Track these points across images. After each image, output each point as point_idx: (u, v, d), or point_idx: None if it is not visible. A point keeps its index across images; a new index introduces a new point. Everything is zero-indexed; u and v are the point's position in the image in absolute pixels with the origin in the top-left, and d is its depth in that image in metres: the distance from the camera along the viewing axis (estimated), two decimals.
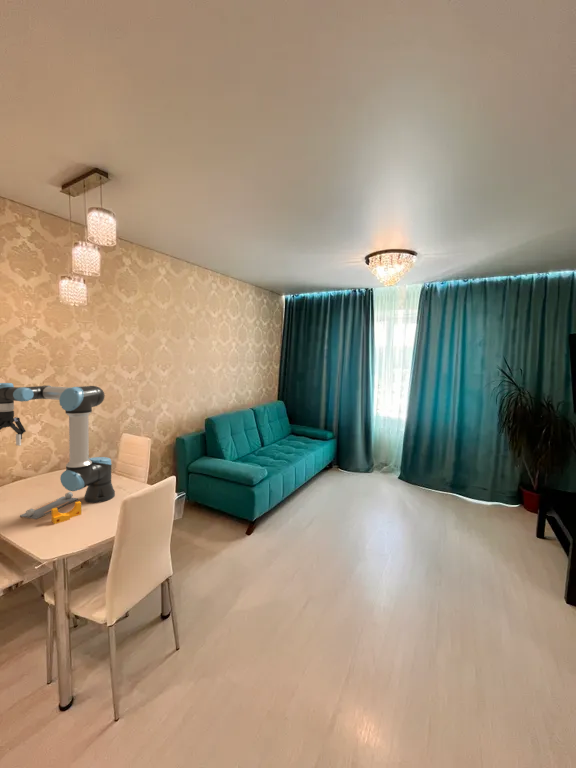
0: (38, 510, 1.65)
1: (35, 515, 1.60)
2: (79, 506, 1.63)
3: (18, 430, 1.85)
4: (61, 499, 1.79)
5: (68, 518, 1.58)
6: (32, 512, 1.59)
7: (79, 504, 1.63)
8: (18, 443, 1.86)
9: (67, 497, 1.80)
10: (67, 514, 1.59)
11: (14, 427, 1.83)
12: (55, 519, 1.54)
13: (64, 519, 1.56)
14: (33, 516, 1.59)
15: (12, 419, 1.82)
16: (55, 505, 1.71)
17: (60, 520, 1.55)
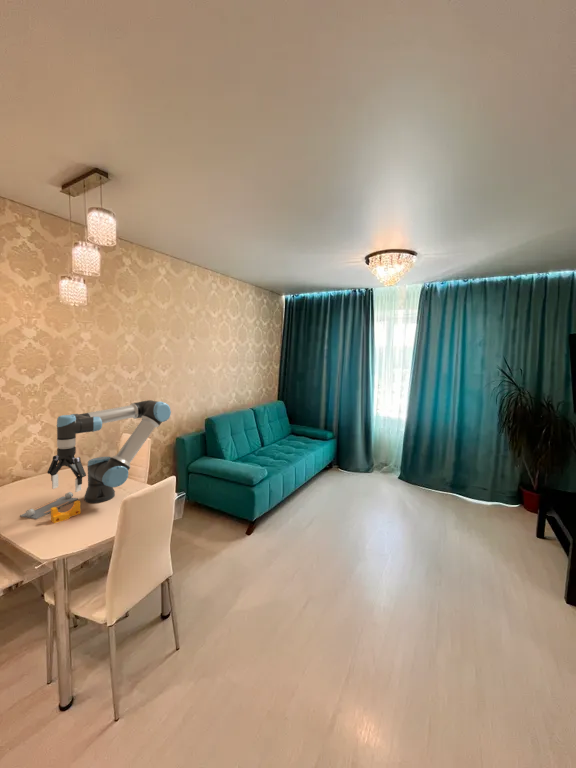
0: (38, 510, 1.65)
1: (35, 515, 1.60)
2: (78, 505, 1.64)
3: (74, 473, 1.55)
4: (61, 499, 1.79)
5: (68, 517, 1.59)
6: (32, 512, 1.59)
7: (78, 503, 1.64)
8: None
9: (67, 497, 1.80)
10: (66, 513, 1.60)
11: (71, 468, 1.56)
12: (55, 518, 1.54)
13: (64, 518, 1.57)
14: (33, 516, 1.59)
15: (69, 458, 1.56)
16: (55, 505, 1.71)
17: (60, 519, 1.56)
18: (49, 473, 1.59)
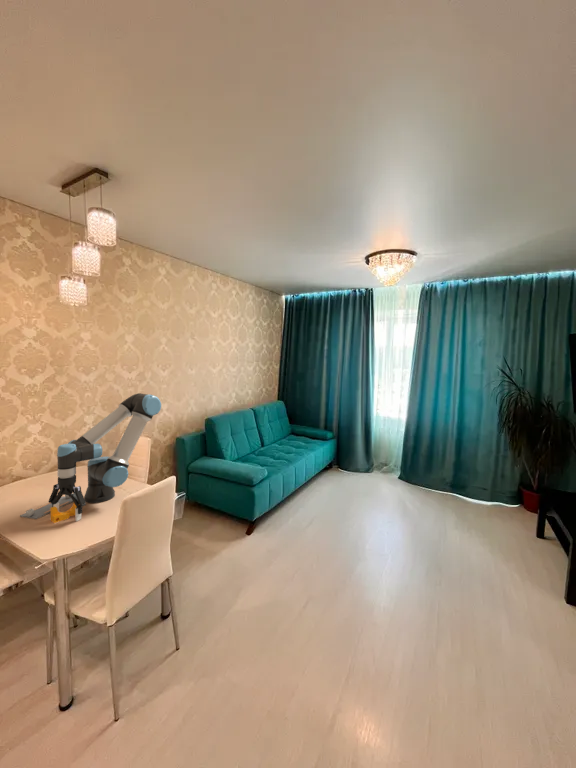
0: (38, 510, 1.65)
1: (35, 515, 1.60)
2: None
3: (74, 502, 1.56)
4: (61, 499, 1.79)
5: (67, 517, 1.59)
6: (32, 512, 1.59)
7: None
8: None
9: (67, 497, 1.80)
10: (66, 513, 1.60)
11: (71, 497, 1.57)
12: (55, 518, 1.55)
13: (63, 518, 1.58)
14: (33, 516, 1.59)
15: (70, 487, 1.57)
16: None
17: (59, 519, 1.56)
18: None
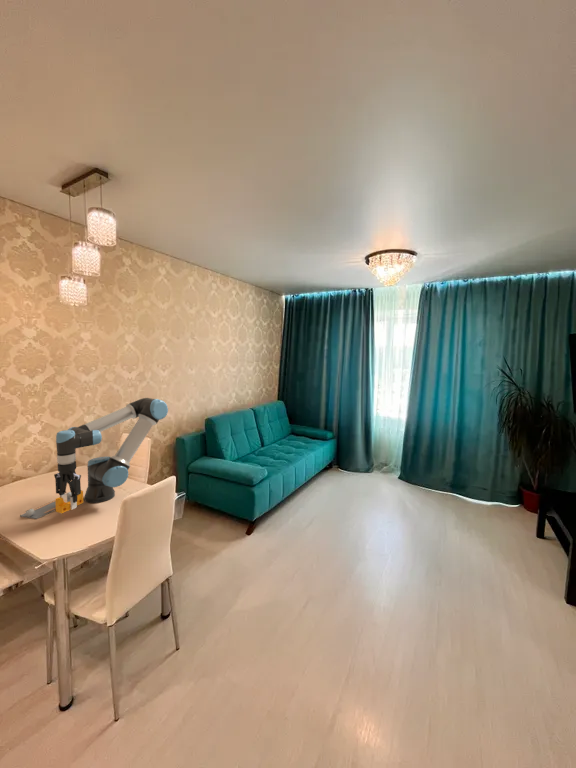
0: (38, 510, 1.65)
1: (35, 515, 1.60)
2: (81, 494, 1.65)
3: (71, 490, 1.57)
4: None
5: None
6: (32, 512, 1.59)
7: (81, 492, 1.65)
8: None
9: (67, 497, 1.80)
10: None
11: (69, 484, 1.57)
12: (62, 508, 1.54)
13: (70, 507, 1.58)
14: (33, 516, 1.59)
15: (70, 474, 1.56)
16: (55, 505, 1.71)
17: (66, 508, 1.56)
18: (58, 492, 1.59)
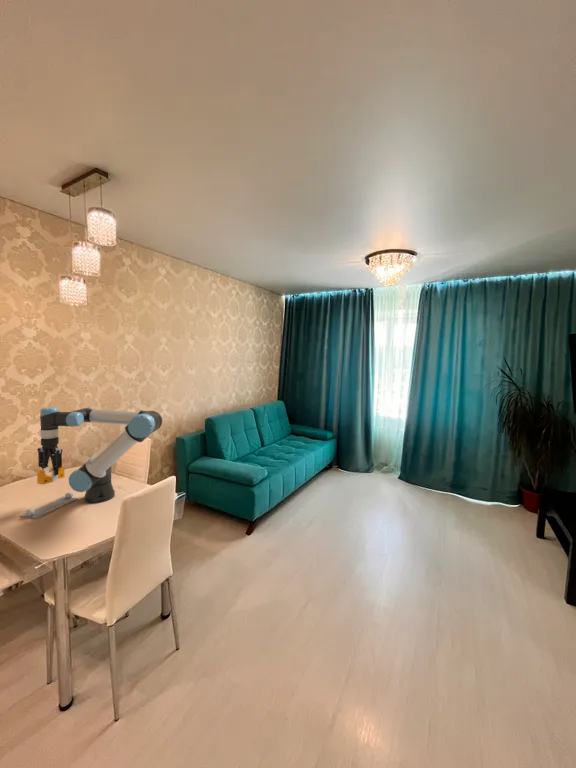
0: (38, 510, 1.65)
1: (35, 515, 1.60)
2: (62, 469, 1.75)
3: (52, 464, 1.67)
4: (61, 499, 1.79)
5: None
6: (32, 512, 1.59)
7: (62, 467, 1.75)
8: None
9: (67, 497, 1.80)
10: None
11: (51, 458, 1.67)
12: (43, 479, 1.64)
13: (51, 480, 1.68)
14: (33, 516, 1.59)
15: (52, 448, 1.67)
16: (55, 505, 1.71)
17: (47, 481, 1.66)
18: (40, 466, 1.69)
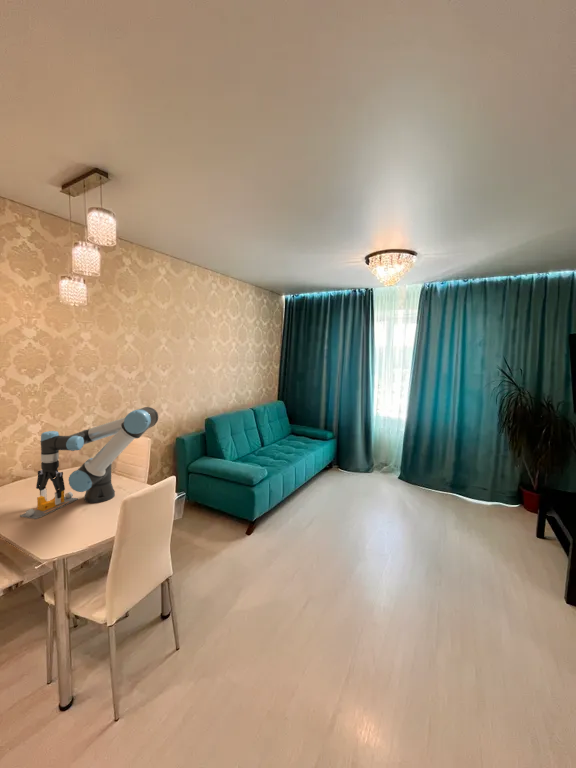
0: (38, 510, 1.65)
1: (35, 515, 1.60)
2: (62, 493, 1.75)
3: (55, 487, 1.68)
4: None
5: (54, 504, 1.70)
6: (32, 512, 1.59)
7: (62, 491, 1.75)
8: None
9: (67, 497, 1.80)
10: (52, 501, 1.71)
11: None
12: (43, 506, 1.65)
13: (51, 506, 1.68)
14: (33, 516, 1.59)
15: (53, 472, 1.67)
16: None
17: (48, 507, 1.67)
18: (38, 488, 1.70)
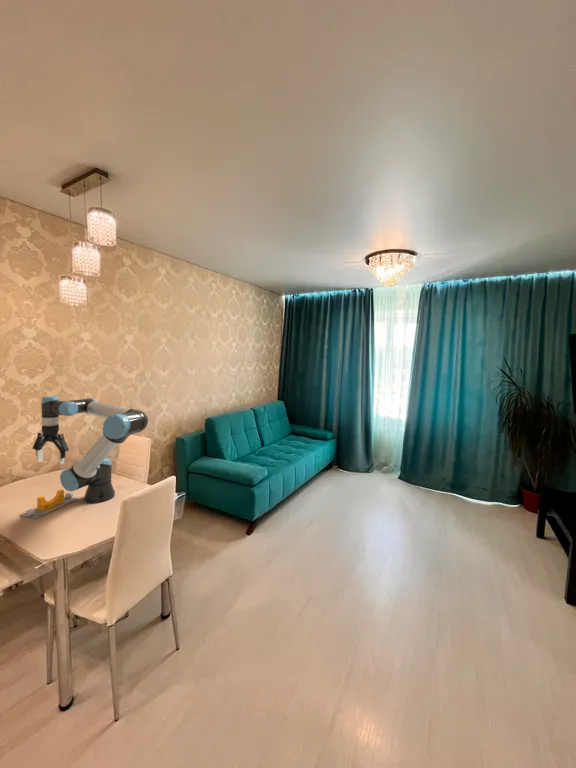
0: (38, 510, 1.65)
1: (35, 515, 1.60)
2: (62, 493, 1.75)
3: (58, 448, 1.73)
4: None
5: (54, 504, 1.70)
6: (32, 512, 1.59)
7: (62, 491, 1.75)
8: None
9: (67, 497, 1.80)
10: (52, 501, 1.71)
11: (54, 443, 1.73)
12: (43, 506, 1.65)
13: (51, 506, 1.69)
14: (33, 516, 1.59)
15: (53, 435, 1.73)
16: None
17: (47, 507, 1.67)
18: (34, 448, 1.76)
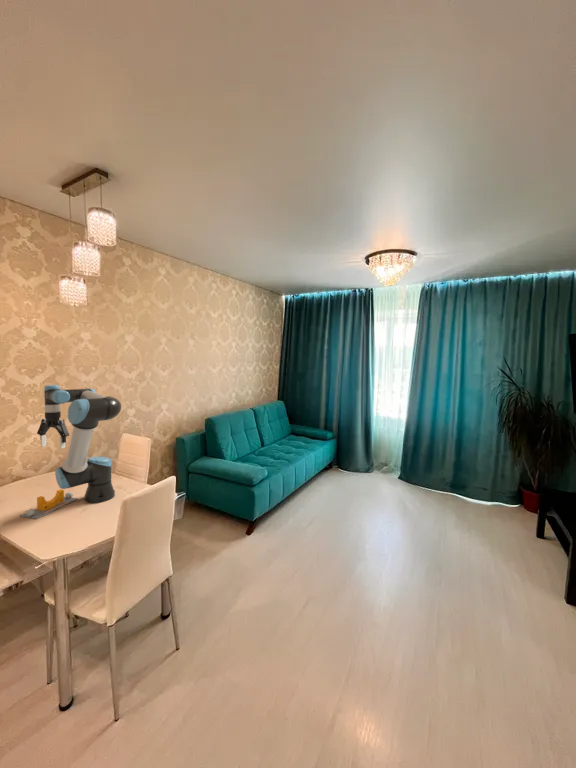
0: (38, 510, 1.65)
1: (35, 515, 1.60)
2: (62, 493, 1.75)
3: (59, 433, 1.86)
4: None
5: (54, 504, 1.70)
6: (32, 512, 1.59)
7: (62, 491, 1.75)
8: None
9: (67, 497, 1.80)
10: (52, 501, 1.71)
11: (56, 429, 1.87)
12: (43, 506, 1.65)
13: (51, 505, 1.69)
14: (33, 516, 1.59)
15: (55, 421, 1.87)
16: None
17: (47, 507, 1.67)
18: (38, 433, 1.90)
